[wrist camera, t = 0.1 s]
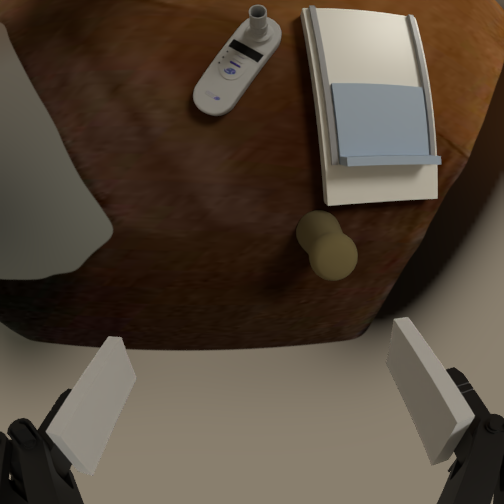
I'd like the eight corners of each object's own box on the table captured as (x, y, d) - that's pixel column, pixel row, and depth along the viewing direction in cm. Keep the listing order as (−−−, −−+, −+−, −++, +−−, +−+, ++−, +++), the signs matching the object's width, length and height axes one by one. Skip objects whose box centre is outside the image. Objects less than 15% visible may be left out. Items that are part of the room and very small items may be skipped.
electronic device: (166, 94, 27) (250, -16, 22) (189, 103, 36) (253, 16, 31) (210, 119, 27) (295, 6, 23) (223, 123, 37) (288, 35, 32)
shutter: (330, 84, 31) (337, 77, 28) (419, 88, 31) (433, 84, 27) (339, 164, 35) (347, 166, 31) (426, 162, 34) (441, 164, 30)
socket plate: (300, 15, 30) (303, 5, 27) (408, 23, 29) (418, 16, 26) (323, 202, 39) (329, 207, 36) (428, 195, 38) (440, 199, 35)
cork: (286, 233, 40) (295, 263, 30) (318, 200, 39) (339, 220, 29) (317, 262, 42) (334, 300, 31) (348, 231, 40) (376, 260, 30)
